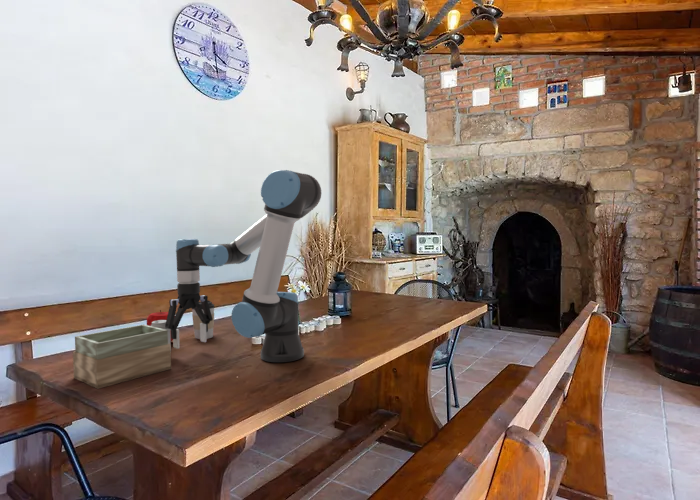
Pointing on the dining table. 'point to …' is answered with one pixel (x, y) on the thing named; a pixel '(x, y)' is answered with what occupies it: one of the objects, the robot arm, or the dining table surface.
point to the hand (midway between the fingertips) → (190, 344)
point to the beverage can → (162, 325)
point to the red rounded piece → (157, 318)
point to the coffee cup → (197, 322)
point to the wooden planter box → (120, 355)
